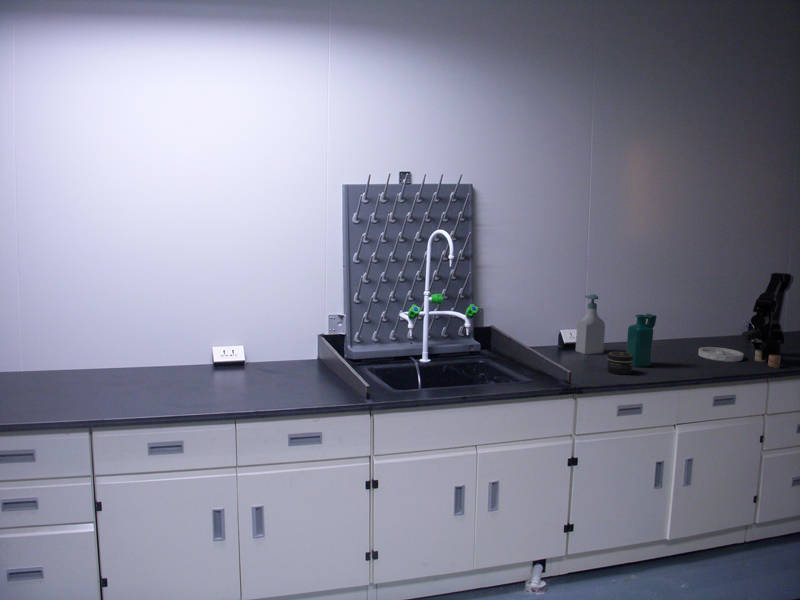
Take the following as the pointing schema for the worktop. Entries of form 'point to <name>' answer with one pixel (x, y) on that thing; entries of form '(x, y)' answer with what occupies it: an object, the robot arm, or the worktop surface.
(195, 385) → the worktop surface
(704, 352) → the tray
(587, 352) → the soap bottle
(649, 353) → the pitcher
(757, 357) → the bead maple
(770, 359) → the bead terracotta
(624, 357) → the jar
